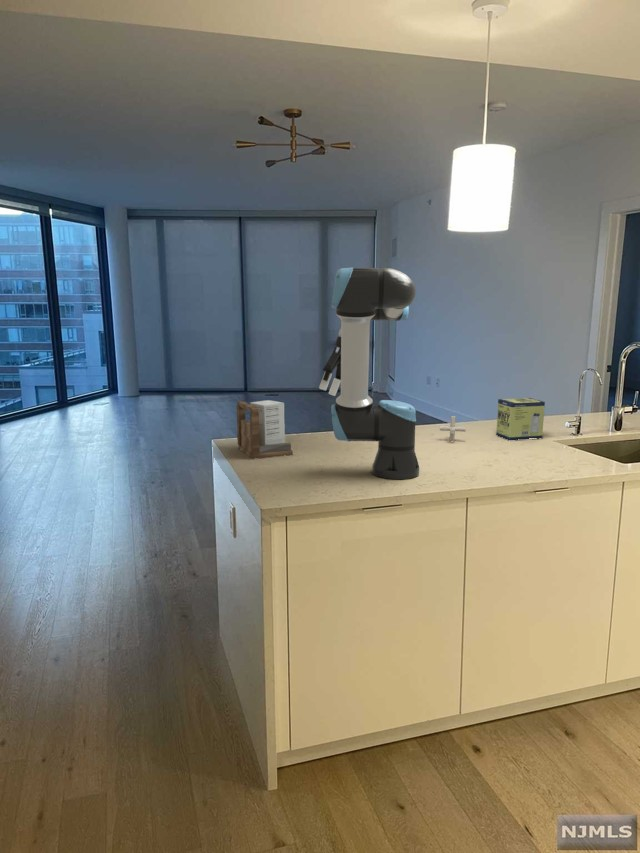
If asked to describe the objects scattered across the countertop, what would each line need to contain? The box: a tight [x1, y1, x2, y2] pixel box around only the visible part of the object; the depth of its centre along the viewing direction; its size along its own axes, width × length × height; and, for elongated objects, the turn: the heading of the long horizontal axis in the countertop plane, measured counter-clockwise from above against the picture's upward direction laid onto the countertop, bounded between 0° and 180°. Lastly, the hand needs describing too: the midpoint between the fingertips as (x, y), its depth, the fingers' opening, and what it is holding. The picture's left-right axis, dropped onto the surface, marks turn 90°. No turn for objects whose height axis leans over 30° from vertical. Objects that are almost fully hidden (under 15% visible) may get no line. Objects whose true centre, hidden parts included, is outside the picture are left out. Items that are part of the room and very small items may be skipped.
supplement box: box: [249, 399, 286, 446], centre depth 220 cm, size 10×9×17 cm
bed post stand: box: [236, 400, 294, 460], centre depth 220 cm, size 18×15×18 cm
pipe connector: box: [439, 416, 467, 442], centre depth 239 cm, size 10×10×10 cm
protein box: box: [495, 397, 546, 441], centre depth 246 cm, size 10×16×16 cm
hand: (327, 392), depth 225 cm, fingers open, 13 cm apart
